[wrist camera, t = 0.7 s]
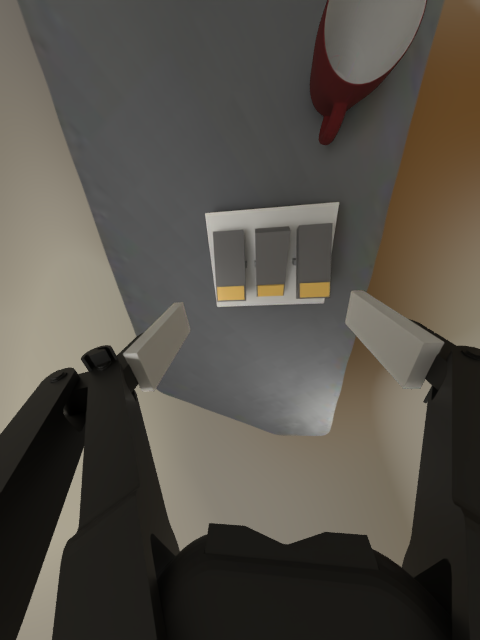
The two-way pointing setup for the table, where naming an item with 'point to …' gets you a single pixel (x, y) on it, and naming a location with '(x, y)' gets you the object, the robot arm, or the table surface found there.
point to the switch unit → (249, 223)
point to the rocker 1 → (230, 265)
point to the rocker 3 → (313, 260)
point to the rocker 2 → (271, 260)
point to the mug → (358, 53)
